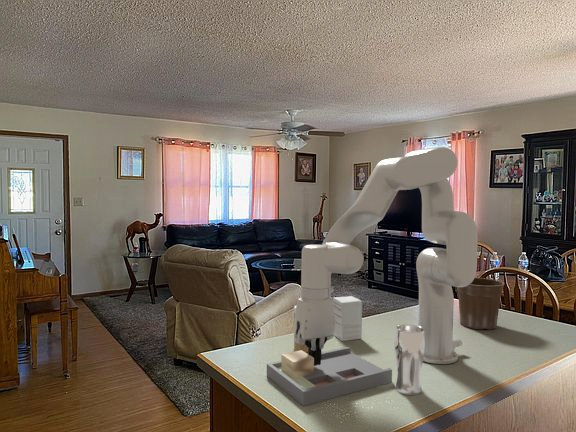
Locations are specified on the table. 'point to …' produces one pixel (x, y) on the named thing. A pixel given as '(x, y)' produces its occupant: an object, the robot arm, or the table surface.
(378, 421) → the table surface
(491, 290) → the plant pot
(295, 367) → the maple block
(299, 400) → the box
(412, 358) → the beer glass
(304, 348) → the sprinkles bottle
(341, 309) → the supplement box
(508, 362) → the table surface
